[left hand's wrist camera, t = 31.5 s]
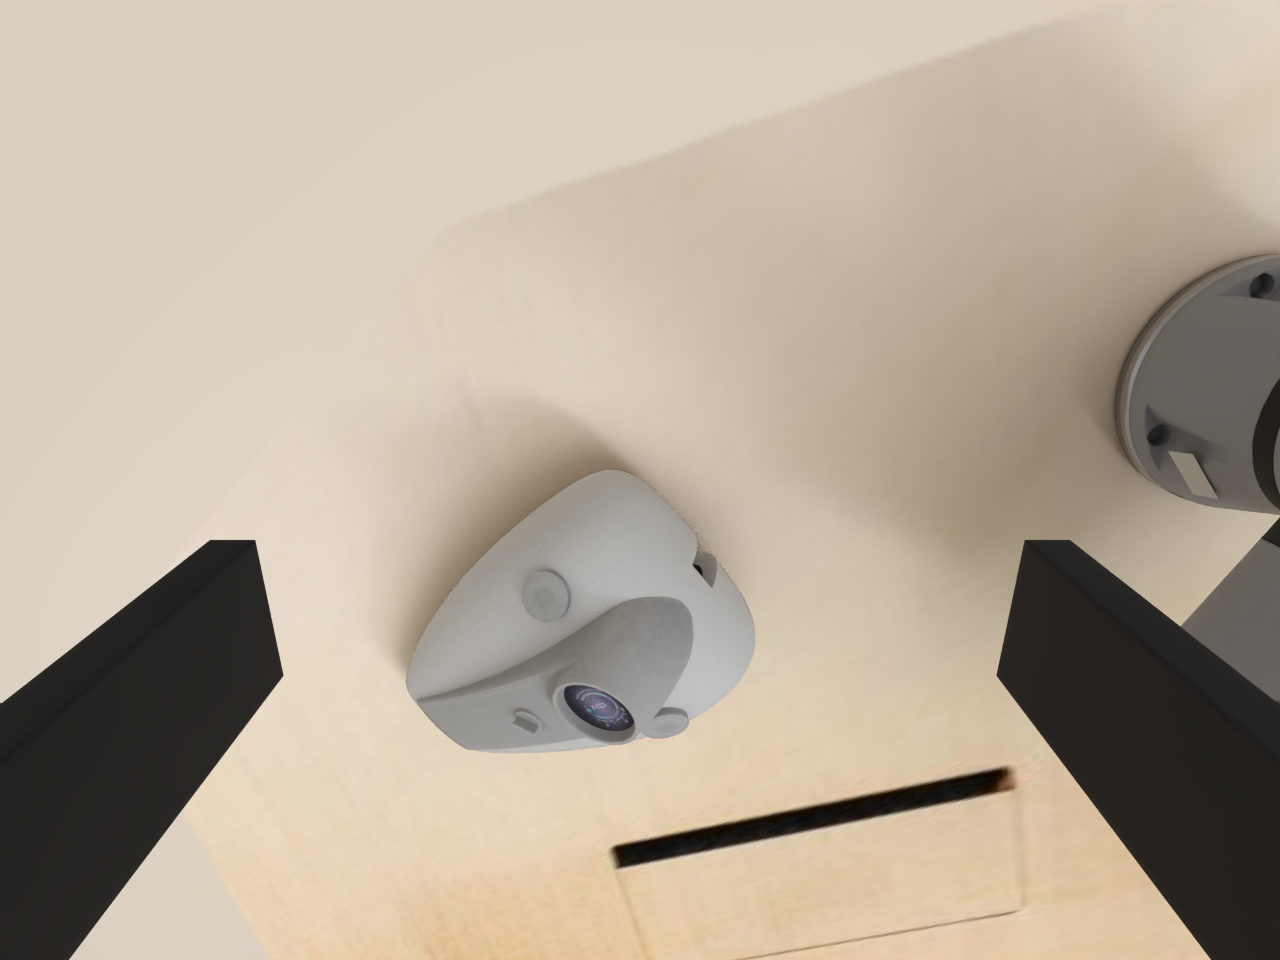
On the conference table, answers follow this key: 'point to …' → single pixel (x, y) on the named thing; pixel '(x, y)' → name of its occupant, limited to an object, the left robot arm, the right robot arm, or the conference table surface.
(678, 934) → the conference table surface
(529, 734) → the projector
